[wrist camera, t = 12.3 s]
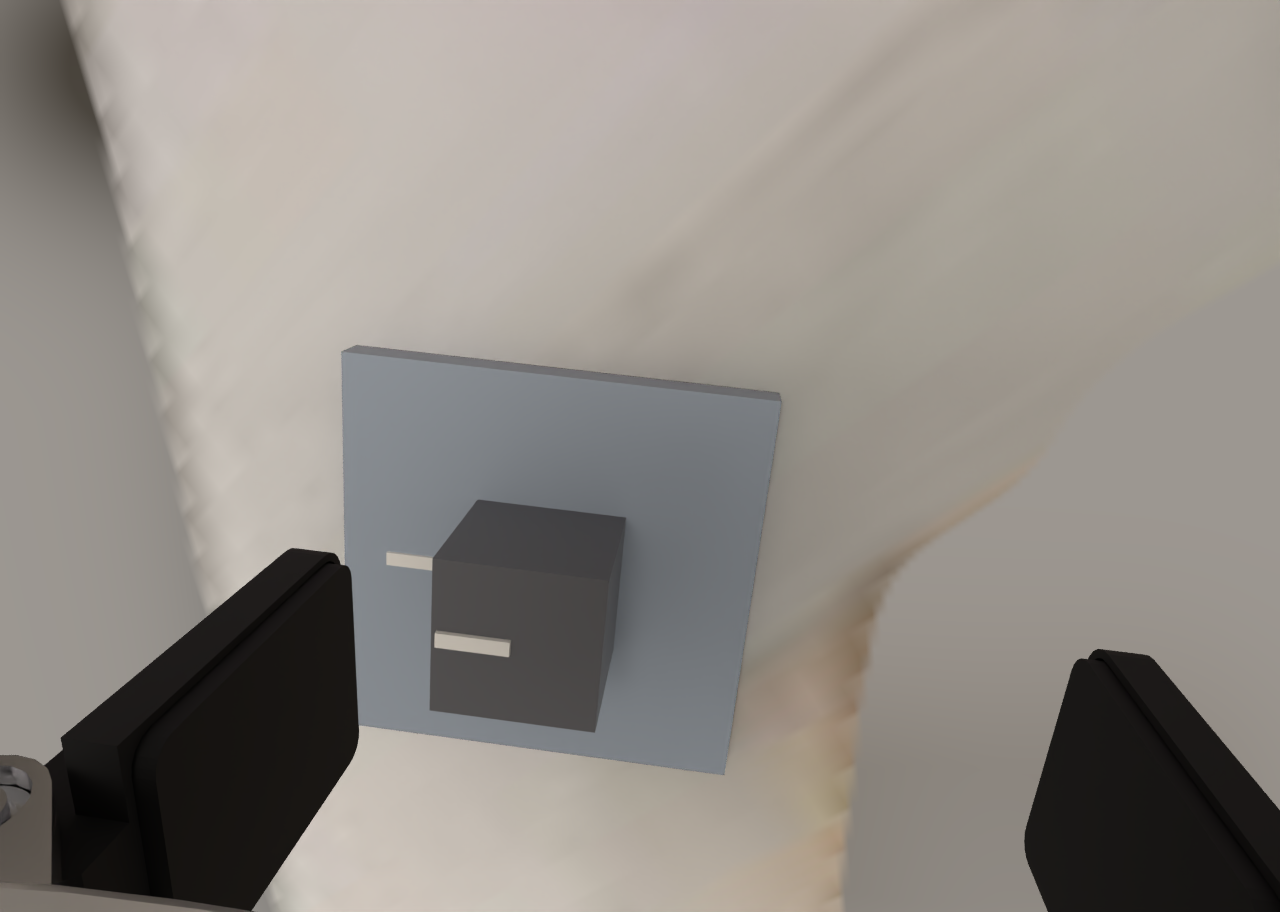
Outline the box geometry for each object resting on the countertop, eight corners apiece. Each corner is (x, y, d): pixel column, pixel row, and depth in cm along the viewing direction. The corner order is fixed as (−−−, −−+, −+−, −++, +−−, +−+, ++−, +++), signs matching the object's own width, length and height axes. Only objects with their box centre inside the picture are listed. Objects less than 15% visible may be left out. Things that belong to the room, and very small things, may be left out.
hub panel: (778, 392, 34) (790, 429, 29) (723, 754, 40) (725, 838, 35) (356, 345, 35) (294, 372, 30) (360, 705, 41) (308, 780, 36)
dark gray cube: (626, 517, 35) (608, 583, 29) (613, 649, 37) (594, 736, 31) (477, 499, 35) (430, 560, 29) (473, 631, 37) (427, 713, 31)
